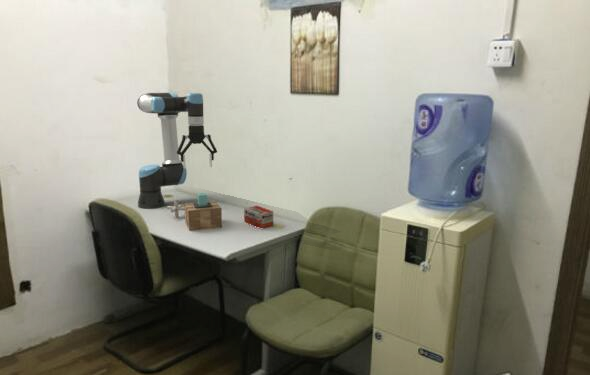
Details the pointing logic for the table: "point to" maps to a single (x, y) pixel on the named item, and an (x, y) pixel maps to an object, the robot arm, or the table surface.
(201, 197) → the peg
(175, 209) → the pipe connector
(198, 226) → the socket block
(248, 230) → the table surface
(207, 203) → the collar
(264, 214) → the medicine box
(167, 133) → the robot arm
